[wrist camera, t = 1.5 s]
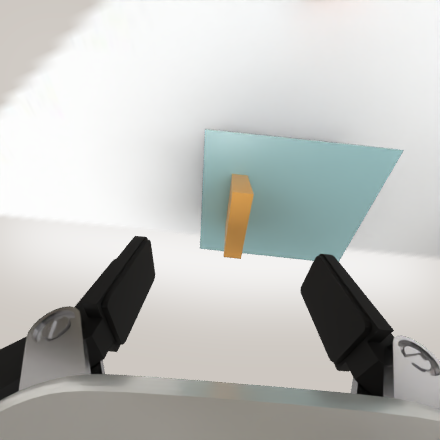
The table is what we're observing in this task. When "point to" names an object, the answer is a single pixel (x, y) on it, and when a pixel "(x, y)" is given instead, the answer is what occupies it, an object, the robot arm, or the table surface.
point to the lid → (287, 193)
